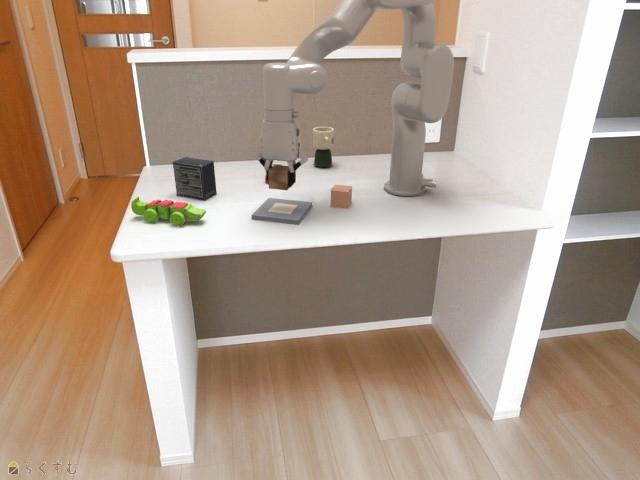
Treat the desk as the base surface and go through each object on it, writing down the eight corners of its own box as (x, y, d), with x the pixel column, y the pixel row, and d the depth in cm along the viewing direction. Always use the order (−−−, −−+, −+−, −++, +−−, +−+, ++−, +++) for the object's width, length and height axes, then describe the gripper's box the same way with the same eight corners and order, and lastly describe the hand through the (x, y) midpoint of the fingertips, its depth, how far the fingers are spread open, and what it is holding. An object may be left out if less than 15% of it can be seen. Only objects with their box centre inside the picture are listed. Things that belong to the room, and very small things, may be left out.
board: (312, 206, 140) (312, 201, 139) (298, 224, 129) (298, 220, 128) (268, 201, 143) (268, 197, 142) (251, 219, 132) (251, 214, 131)
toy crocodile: (210, 219, 132) (207, 198, 129) (198, 229, 126) (195, 207, 123) (143, 212, 136) (140, 191, 134) (129, 221, 131) (125, 200, 128)
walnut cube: (292, 184, 134) (292, 166, 132) (287, 190, 130) (286, 172, 127) (275, 182, 135) (274, 164, 133) (268, 188, 131) (268, 170, 128)
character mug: (337, 170, 169) (337, 132, 163) (316, 171, 168) (316, 133, 162) (329, 160, 179) (329, 124, 173) (309, 162, 177) (309, 125, 171)
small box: (218, 194, 148) (215, 160, 144) (205, 201, 143) (201, 166, 139) (189, 189, 152) (185, 155, 148) (175, 195, 147) (171, 161, 143)
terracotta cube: (351, 202, 143) (352, 186, 141) (347, 208, 139) (348, 192, 136) (334, 200, 144) (334, 184, 142) (330, 207, 140) (330, 190, 138)
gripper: (316, 114, 125) (315, 183, 133) (253, 110, 129) (256, 177, 137) (308, 120, 119) (307, 192, 127) (241, 116, 123) (245, 185, 131)
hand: (281, 183), depth 132 cm, fingers closed on walnut cube, 4 cm apart
